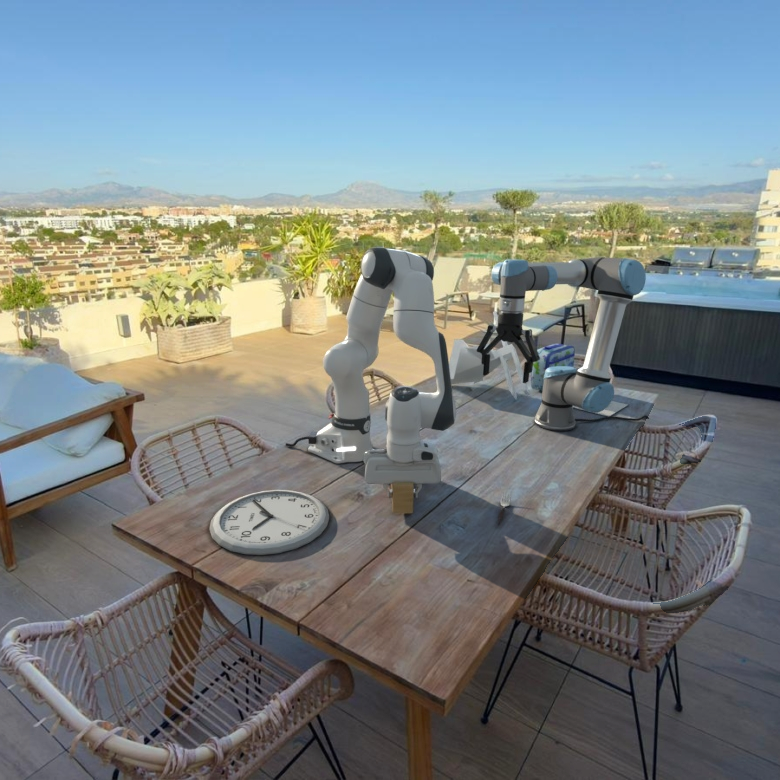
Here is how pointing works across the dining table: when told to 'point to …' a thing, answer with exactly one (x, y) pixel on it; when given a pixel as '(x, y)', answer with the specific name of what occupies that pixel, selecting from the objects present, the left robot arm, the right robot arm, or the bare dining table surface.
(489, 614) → the dining table surface
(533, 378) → the lunch box
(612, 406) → the invitation card
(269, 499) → the wall clock
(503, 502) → the fork
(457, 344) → the white plastic object
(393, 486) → the bar
